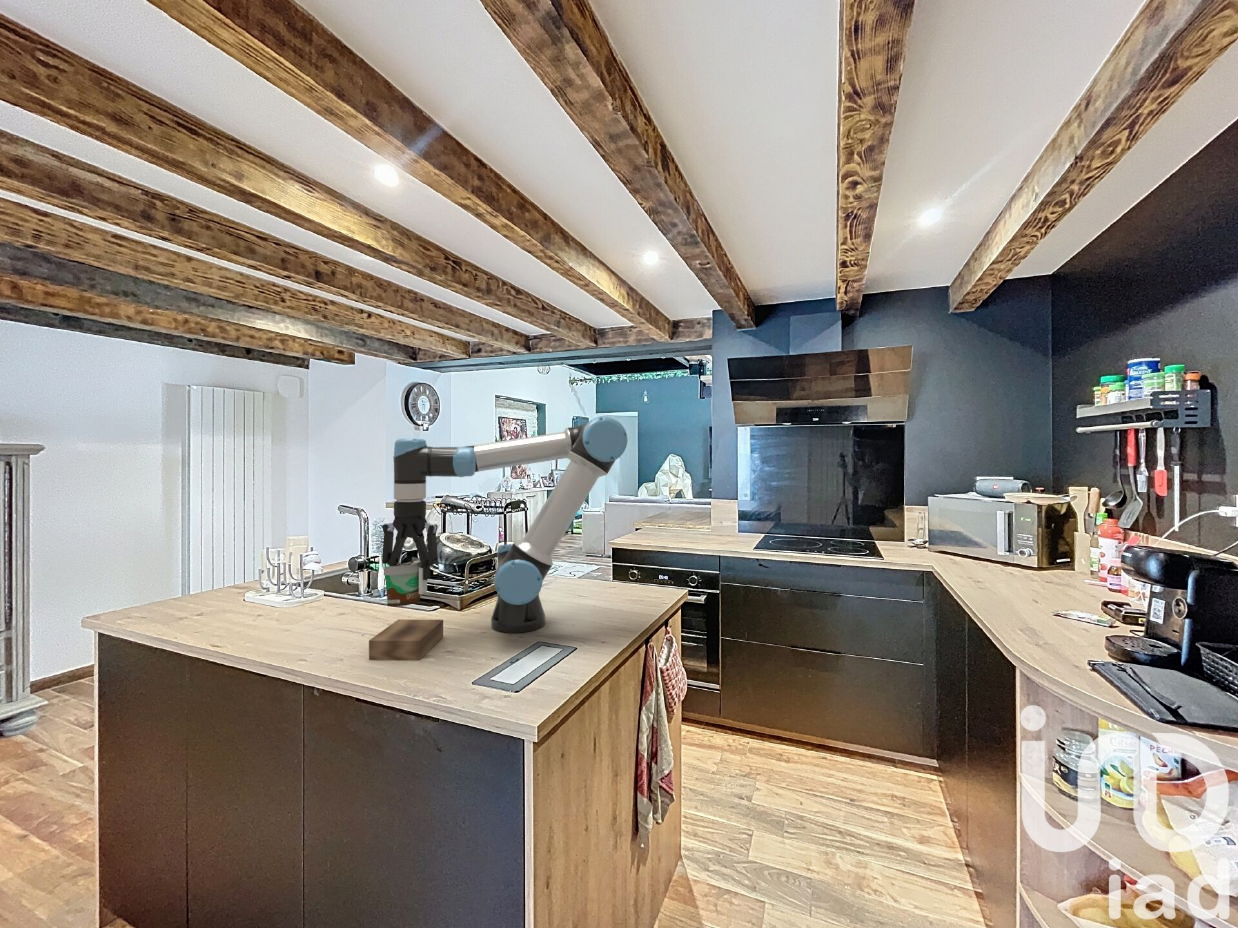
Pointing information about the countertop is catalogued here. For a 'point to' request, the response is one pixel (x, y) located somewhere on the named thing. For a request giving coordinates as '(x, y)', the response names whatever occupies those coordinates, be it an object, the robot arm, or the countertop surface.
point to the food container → (403, 583)
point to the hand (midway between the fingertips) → (409, 591)
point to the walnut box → (406, 640)
